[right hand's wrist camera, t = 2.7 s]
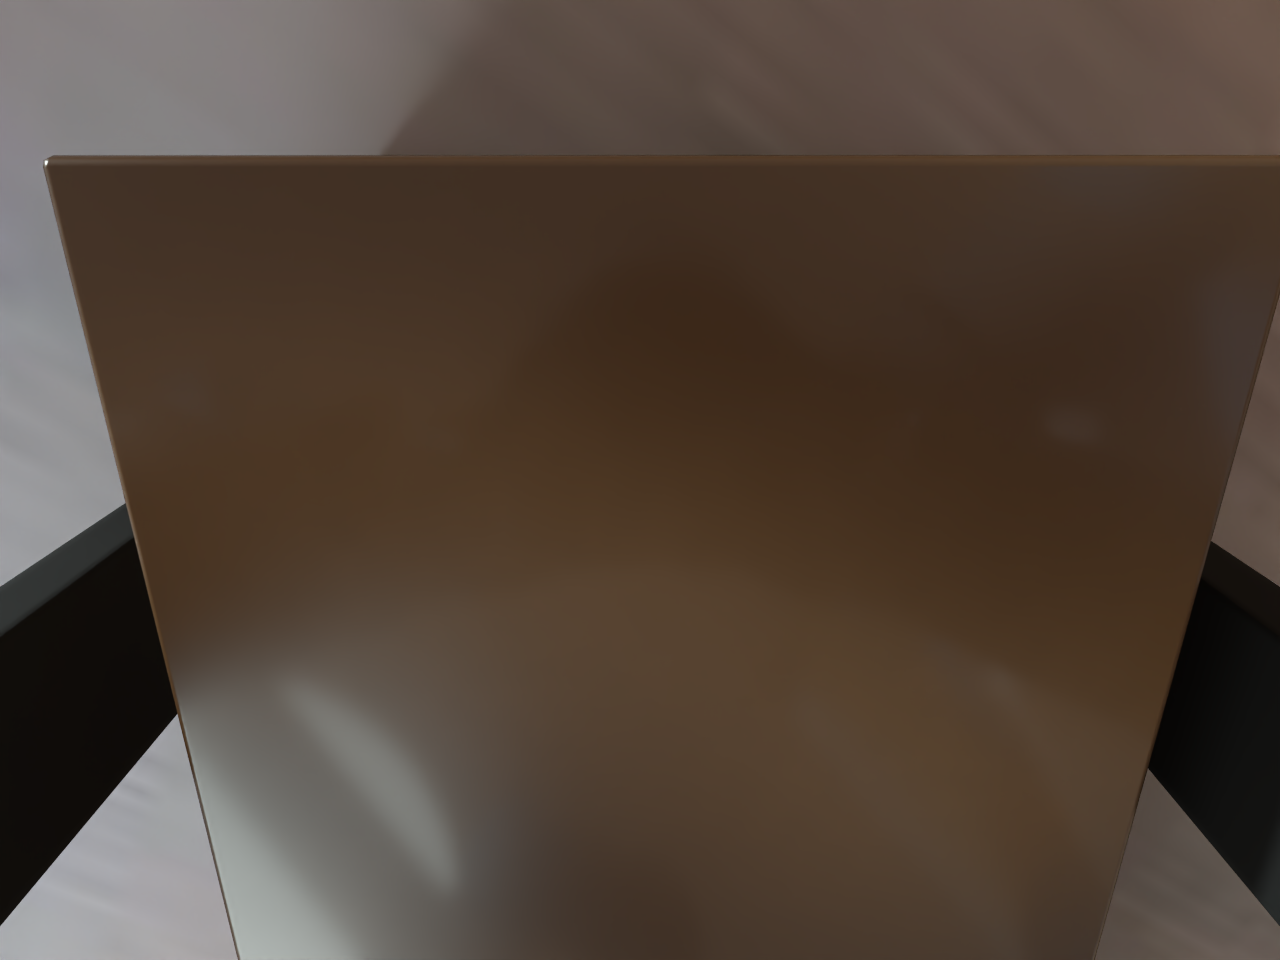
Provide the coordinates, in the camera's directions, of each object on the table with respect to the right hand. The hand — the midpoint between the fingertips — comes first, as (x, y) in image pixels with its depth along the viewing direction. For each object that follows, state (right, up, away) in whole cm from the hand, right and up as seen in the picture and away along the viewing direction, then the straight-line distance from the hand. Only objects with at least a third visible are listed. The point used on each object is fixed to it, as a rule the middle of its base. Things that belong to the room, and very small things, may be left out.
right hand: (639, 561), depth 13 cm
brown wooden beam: (0, -22, +11) cm, 25 cm away
